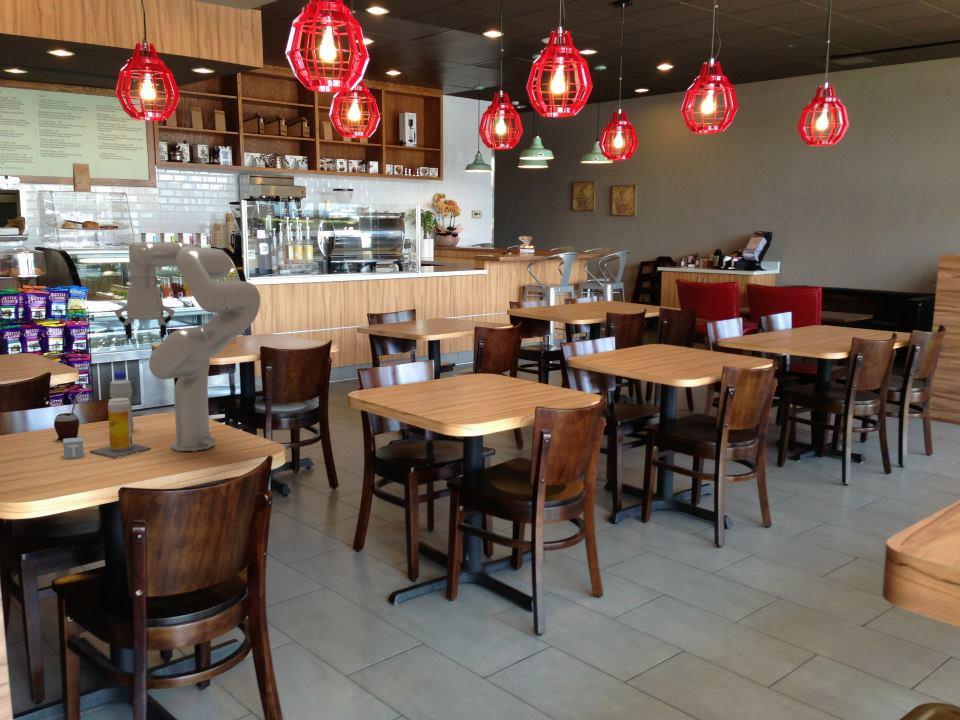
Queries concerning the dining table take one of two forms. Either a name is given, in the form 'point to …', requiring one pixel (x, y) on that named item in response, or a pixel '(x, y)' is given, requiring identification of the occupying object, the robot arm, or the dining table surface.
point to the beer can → (120, 424)
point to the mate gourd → (67, 424)
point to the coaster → (109, 452)
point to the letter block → (73, 447)
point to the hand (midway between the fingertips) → (146, 337)
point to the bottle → (121, 389)
